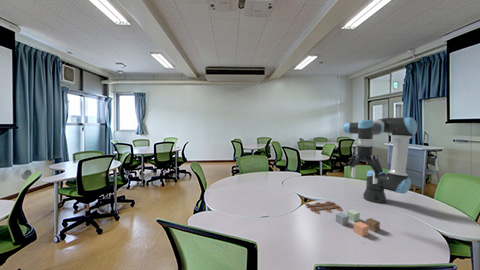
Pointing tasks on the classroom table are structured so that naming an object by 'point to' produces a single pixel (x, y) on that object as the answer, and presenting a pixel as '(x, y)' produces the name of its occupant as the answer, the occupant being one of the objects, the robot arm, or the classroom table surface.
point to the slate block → (342, 219)
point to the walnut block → (373, 224)
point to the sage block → (353, 215)
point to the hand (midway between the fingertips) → (363, 180)
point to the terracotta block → (361, 228)
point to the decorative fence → (323, 207)
